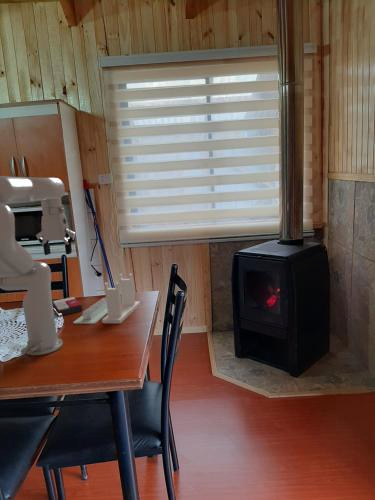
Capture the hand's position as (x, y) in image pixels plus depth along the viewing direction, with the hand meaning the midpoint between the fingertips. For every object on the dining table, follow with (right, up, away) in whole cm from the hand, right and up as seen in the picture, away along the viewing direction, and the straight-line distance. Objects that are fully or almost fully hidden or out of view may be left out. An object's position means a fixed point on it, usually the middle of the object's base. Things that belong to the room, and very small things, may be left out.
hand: (58, 254), depth 147 cm
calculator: (-5, -27, +25) cm, 37 cm away
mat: (+12, -27, +17) cm, 34 cm away
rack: (+24, -26, +14) cm, 38 cm away
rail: (+12, -26, +17) cm, 33 cm away
